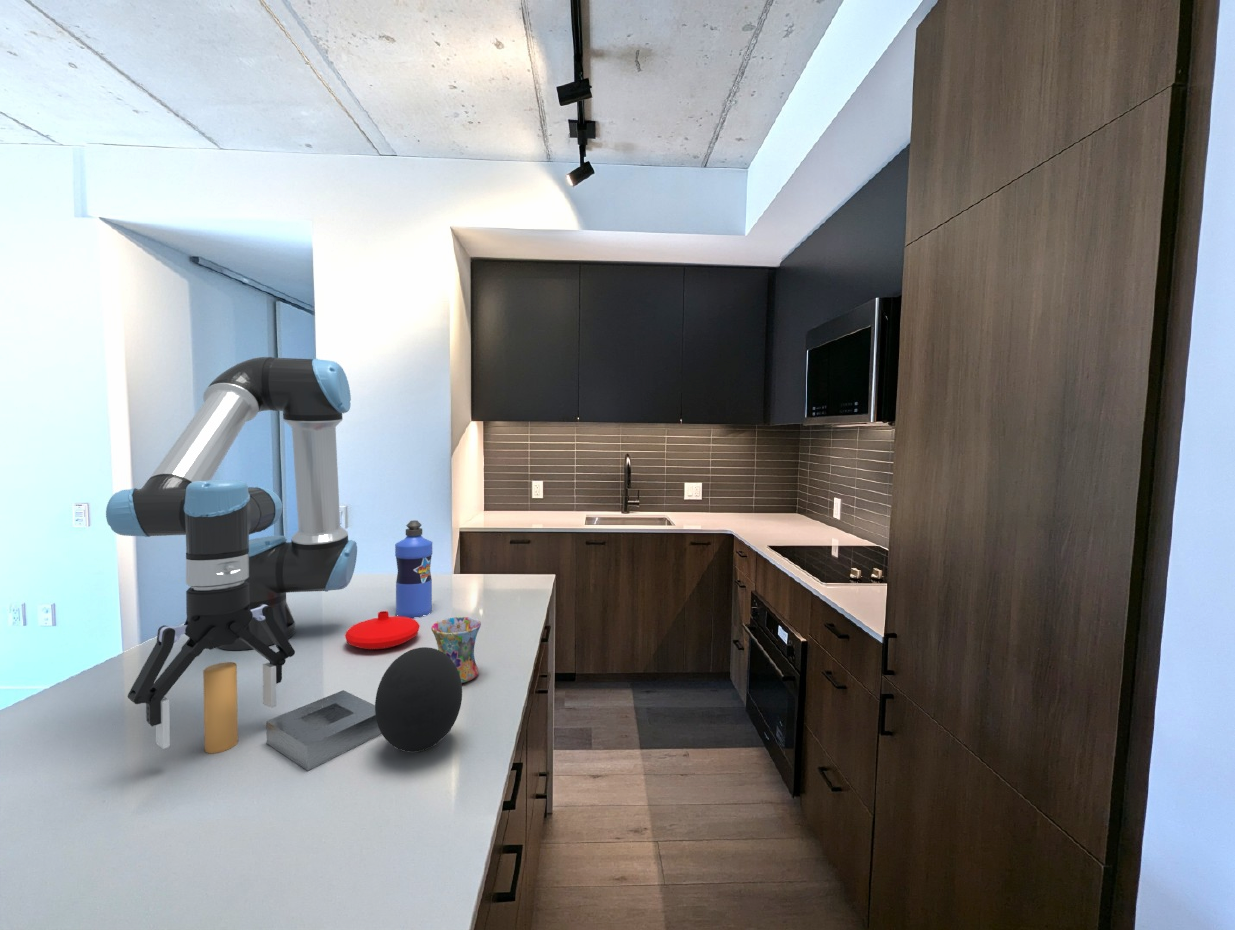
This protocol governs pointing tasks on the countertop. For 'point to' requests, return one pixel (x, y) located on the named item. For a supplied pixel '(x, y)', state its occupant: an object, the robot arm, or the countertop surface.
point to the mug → (458, 643)
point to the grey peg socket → (323, 729)
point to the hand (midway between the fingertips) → (220, 723)
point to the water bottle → (413, 573)
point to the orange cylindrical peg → (220, 707)
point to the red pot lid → (382, 631)
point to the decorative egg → (418, 699)
